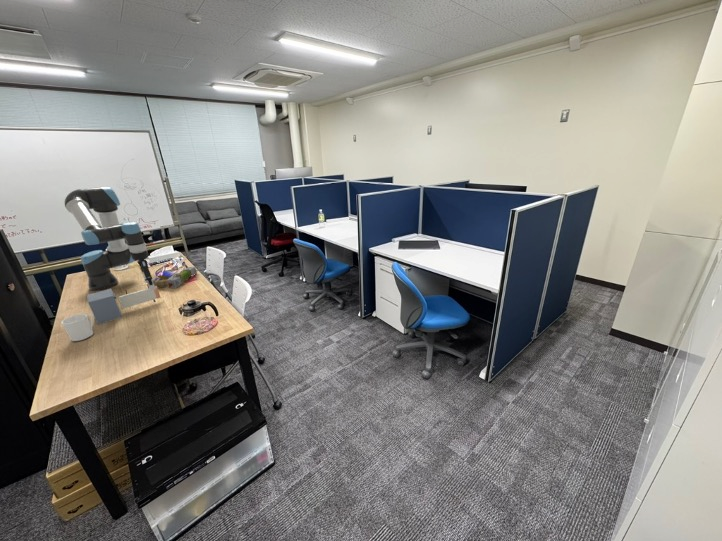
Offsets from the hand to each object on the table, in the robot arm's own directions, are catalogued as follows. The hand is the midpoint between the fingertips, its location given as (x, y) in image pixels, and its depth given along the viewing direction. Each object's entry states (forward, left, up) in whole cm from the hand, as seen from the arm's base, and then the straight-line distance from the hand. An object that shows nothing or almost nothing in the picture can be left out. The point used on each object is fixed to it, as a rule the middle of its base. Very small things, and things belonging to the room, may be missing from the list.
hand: (150, 285), depth 166 cm
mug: (+15, -32, -11) cm, 37 cm away
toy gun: (-26, +15, -11) cm, 32 cm away
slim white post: (0, -6, -8) cm, 10 cm away
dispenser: (0, -22, -11) cm, 24 cm away
